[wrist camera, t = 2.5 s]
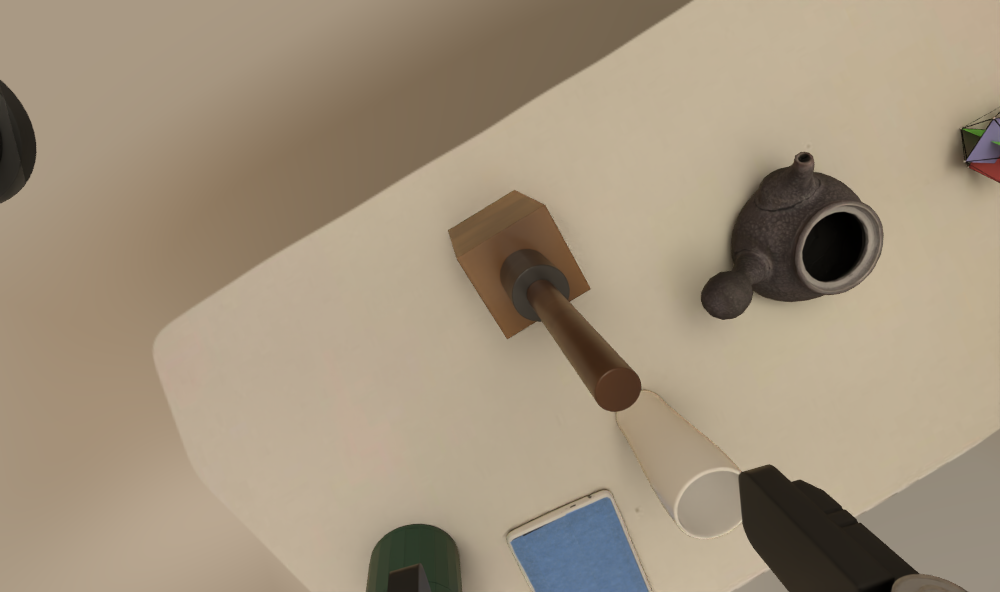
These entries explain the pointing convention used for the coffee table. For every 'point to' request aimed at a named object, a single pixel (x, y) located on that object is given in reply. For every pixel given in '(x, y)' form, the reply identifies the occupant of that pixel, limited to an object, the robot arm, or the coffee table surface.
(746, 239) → the teapot
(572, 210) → the coffee table surface
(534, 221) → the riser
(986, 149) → the geometric puzzle
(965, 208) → the coffee table surface
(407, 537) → the green hollow cylinder
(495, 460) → the coffee table surface
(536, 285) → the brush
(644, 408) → the white tall cup
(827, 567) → the robot arm
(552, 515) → the tablet
